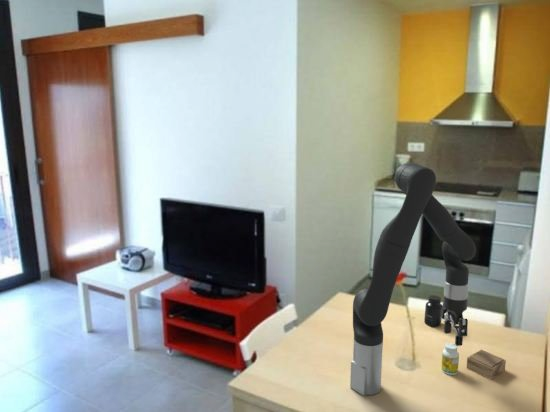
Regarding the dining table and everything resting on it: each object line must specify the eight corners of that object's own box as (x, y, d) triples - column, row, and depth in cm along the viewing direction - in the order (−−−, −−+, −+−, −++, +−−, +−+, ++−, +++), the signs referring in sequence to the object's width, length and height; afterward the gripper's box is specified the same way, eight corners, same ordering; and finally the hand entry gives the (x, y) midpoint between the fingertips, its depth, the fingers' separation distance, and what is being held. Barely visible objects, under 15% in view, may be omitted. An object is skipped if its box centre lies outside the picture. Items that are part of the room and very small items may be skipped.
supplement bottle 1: (424, 326, 194) (426, 299, 192) (424, 319, 201) (425, 293, 198) (441, 328, 192) (443, 301, 190) (440, 321, 199) (442, 295, 196)
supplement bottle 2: (460, 373, 160) (463, 348, 158) (447, 376, 158) (449, 351, 156) (450, 365, 165) (452, 341, 163) (437, 368, 163) (439, 343, 161)
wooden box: (491, 379, 156) (492, 368, 155) (466, 367, 163) (467, 356, 163) (504, 370, 162) (505, 359, 161) (480, 359, 169) (481, 348, 168)
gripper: (477, 303, 149) (473, 349, 152) (457, 286, 163) (454, 328, 166) (454, 304, 148) (451, 350, 152) (436, 287, 162) (433, 329, 166)
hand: (452, 338), depth 159 cm, fingers open, 8 cm apart
